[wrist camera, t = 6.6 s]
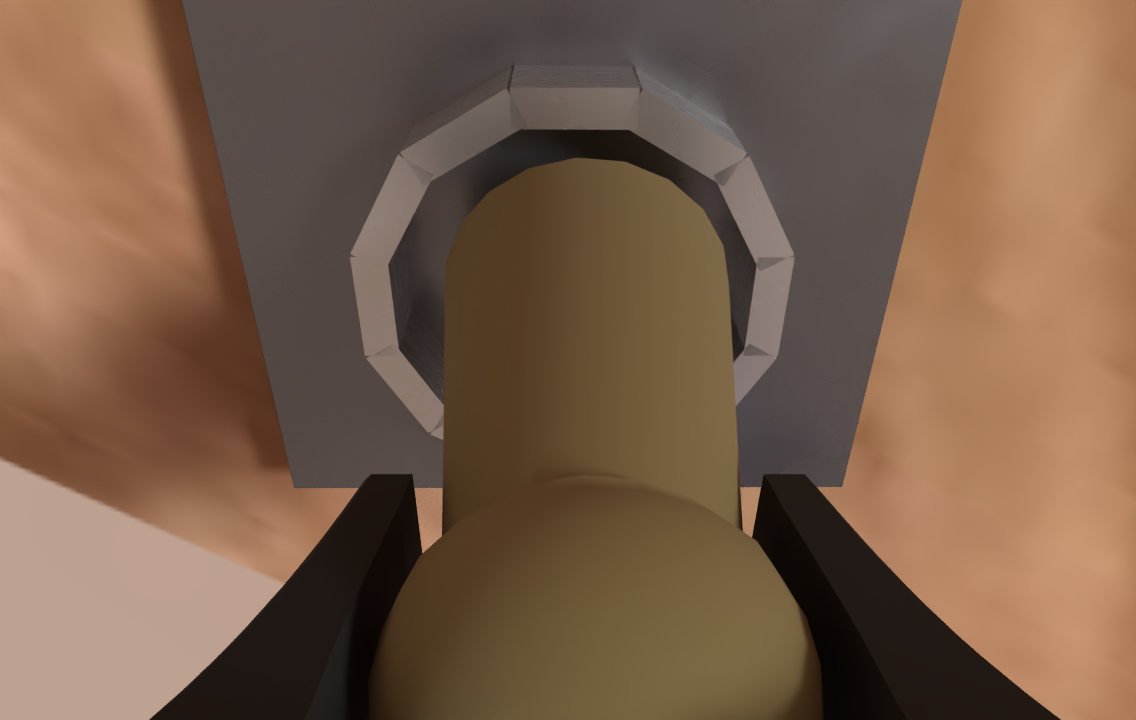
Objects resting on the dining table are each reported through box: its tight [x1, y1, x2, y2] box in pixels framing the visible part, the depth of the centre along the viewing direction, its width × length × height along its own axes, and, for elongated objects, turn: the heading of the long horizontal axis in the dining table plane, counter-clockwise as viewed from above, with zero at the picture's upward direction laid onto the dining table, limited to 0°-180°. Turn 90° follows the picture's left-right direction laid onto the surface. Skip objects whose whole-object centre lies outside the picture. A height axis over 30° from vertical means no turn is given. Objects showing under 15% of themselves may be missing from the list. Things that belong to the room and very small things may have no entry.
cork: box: [368, 158, 824, 720], centre depth 12 cm, size 6×6×11 cm
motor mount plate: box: [182, 0, 962, 488], centre depth 19 cm, size 14×16×4 cm
